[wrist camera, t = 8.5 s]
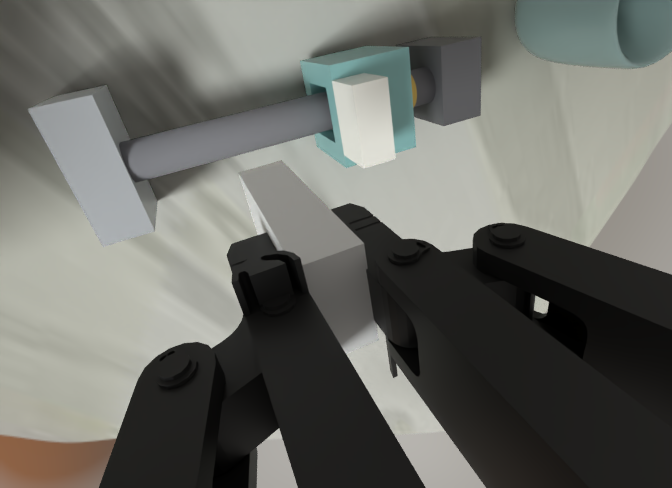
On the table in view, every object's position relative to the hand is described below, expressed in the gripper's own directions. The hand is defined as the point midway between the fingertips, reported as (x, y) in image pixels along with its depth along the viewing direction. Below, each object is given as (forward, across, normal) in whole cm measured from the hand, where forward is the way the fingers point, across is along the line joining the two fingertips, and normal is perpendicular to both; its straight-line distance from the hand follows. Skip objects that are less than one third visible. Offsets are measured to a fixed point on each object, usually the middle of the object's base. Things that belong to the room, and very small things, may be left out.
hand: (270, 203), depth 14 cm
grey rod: (+14, +4, 0) cm, 15 cm away
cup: (+17, +28, +2) cm, 32 cm away
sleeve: (+17, +9, 0) cm, 19 cm away
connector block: (+17, +16, 0) cm, 23 cm away
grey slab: (+17, -7, 0) cm, 18 cm away
